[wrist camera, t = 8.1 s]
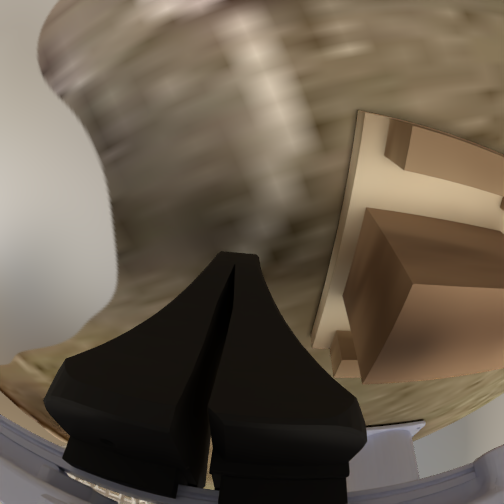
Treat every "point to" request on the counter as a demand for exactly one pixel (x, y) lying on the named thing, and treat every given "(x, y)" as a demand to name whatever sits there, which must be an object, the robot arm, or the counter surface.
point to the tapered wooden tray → (403, 204)
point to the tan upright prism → (425, 298)
